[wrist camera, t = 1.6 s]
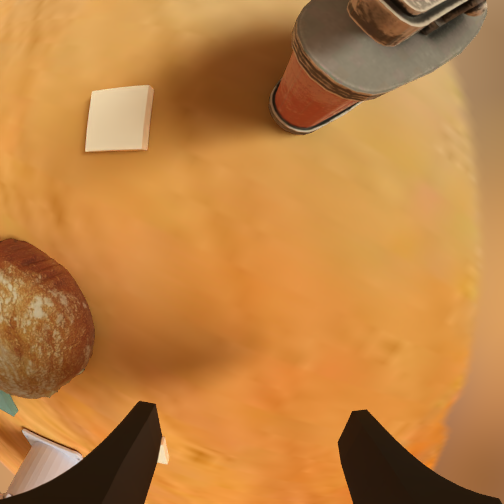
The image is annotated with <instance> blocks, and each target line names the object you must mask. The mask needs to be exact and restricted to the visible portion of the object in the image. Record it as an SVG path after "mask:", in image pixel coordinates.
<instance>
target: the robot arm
mask: <svg viewBox="0 0 504 504" xmlns="http://www.w3.org/2000/svg"><path fill="white" fill-rule="evenodd" d="M22 432H23V434H24V436H25V437H26V439H27V440H28V442H29V443H30V445H31V446H32V447H31V449H30V451H29V452H28V454H27V456H26V457H25V459H24V461H23V463H22V464H21V466H20V468H19V470H18V472H17V473H16V475H15V477H14V479H13V481H12V483H11V484H10V486H9V488H8V490H7V492H6V493H3V494H2V493H1V492H0V504H144V503H145V499H146V496H147V493H148V490H149V486H150V483H151V480H152V477H153V474H154V471H155V467H156V464H157V461H158V457H159V452H160V446H161V440H162V433H161V428H160V423H159V418H158V413H157V408H156V404H153V403H148V402H142V401H139V402H138V403H137V404H136V405H135V406H134V408H133V409H132V410H131V411H130V412H129V414H128V415H127V416H126V417H125V418H124V419H123V421H122V422H121V423H120V424H119V425H118V426H117V427H116V428H115V429H114V430H113V431H112V432H111V433H110V434H109V436H108V437H107V438H106V439H105V440H104V441H103V442H102V443H100V444H99V445H98V446H97V447H96V448H95V449H94V450H93V451H92V452H91V453H89V454H88V455H87V456H86V457H85V458H83V457H82V456H81V454H80V453H78V452H76V451H74V450H71V449H68V448H66V447H63V446H61V445H59V444H56V443H54V442H52V441H49V440H47V439H45V438H43V437H40V436H38V435H36V434H34V433H32V432H30V431H28V430H26V429H23V430H22ZM338 447H339V454H340V460H341V465H342V468H343V471H344V475H345V478H346V481H347V484H348V488H349V491H350V494H351V497H352V501H353V504H502V503H501V501H500V499H499V498H495V497H490V496H486V495H482V494H479V493H476V492H473V491H471V490H468V489H465V488H463V487H461V486H459V485H456V484H455V483H453V482H451V481H449V480H447V479H445V478H443V477H441V476H440V475H438V474H436V473H435V472H434V471H432V470H431V469H429V468H428V467H427V466H425V465H424V464H423V463H421V462H420V461H419V460H418V459H416V458H415V457H414V456H413V455H412V454H410V453H409V452H408V451H407V450H406V449H405V448H404V447H403V446H402V445H400V444H399V443H398V442H397V441H396V440H395V439H394V438H393V437H392V436H391V435H390V434H389V433H388V432H387V431H386V430H385V428H384V427H383V426H382V425H381V424H380V423H379V422H378V421H377V420H376V419H375V418H374V417H373V416H372V415H371V414H370V413H369V412H368V411H367V410H359V411H352V413H351V415H350V418H349V420H348V422H347V424H346V426H345V428H344V430H343V432H342V435H341V437H340V439H339V441H338Z"/></svg>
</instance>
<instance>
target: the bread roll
mask: <svg viewBox="0 0 504 504" xmlns="http://www.w3.org/2000/svg"><path fill="white" fill-rule="evenodd" d="M94 337H95V330H94V325H93V320H92V315H91V312H90V309H89V306H88V304H87V302H86V300H85V297H84V296H83V294H82V292H81V290H80V289H79V287H78V285H77V283H76V282H75V280H74V279H73V278H72V276H71V275H70V273H69V272H68V271H67V269H65V268H64V267H63V266H62V265H60V264H58V263H57V262H56V261H55V260H54V259H52V258H50V257H49V256H48V255H47V254H46V253H44V252H42V251H41V250H39V249H37V248H36V247H35V246H33V245H31V244H29V243H27V242H25V241H18V240H15V239H6V240H4V241H0V390H2V391H4V392H5V393H7V394H10V395H16V396H18V397H23V398H29V399H37V398H41V397H49V398H50V397H51V396H52V395H53V394H54V393H56V392H58V390H59V389H60V387H61V386H63V385H65V384H67V383H69V382H70V380H71V379H72V378H74V377H75V376H76V375H79V374H81V373H82V372H83V371H84V370H85V369H84V368H85V367H86V365H87V363H88V361H89V358H90V357H91V356H92V350H93V344H94Z"/></svg>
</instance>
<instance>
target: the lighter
mask: <svg viewBox="0 0 504 504" xmlns="http://www.w3.org/2000/svg"><path fill="white" fill-rule="evenodd" d="M486 15H487V3H486V0H311V1H310V2H309V3H308V4H307V5H306V6H305V7H303V9H302V11H301V13H300V14H299V16H298V18H297V20H296V23H295V26H294V28H293V31H292V49H293V53H292V55H291V58H290V60H289V63H288V65H287V67H286V70H285V72H284V75H283V77H282V78H281V79H280V80H279V82H278V83H277V84H276V85H275V86H274V88H273V90H272V92H271V95H270V98H269V110H270V113H271V116H272V117H273V119H274V120H275V121H276V123H277V124H278V125H279V126H280V127H282V128H283V129H284V130H286V131H288V132H291V133H293V134H299V135H305V134H308V133H312V132H313V131H315V130H317V129H319V128H321V127H323V126H324V125H326V124H328V123H330V122H332V121H334V120H336V119H337V118H339V117H341V116H343V115H345V114H346V113H348V112H349V111H350V110H352V109H353V108H355V107H356V106H358V105H359V104H360V103H362V102H363V101H366V100H371V99H375V98H377V97H379V96H381V95H383V94H385V93H387V92H390V91H392V90H394V89H396V88H398V87H400V86H402V85H405V84H407V83H409V82H411V81H414V80H416V79H418V78H420V77H423V76H425V75H427V74H429V73H431V72H433V71H434V70H436V69H437V68H439V67H440V66H442V65H443V64H445V63H446V62H448V61H450V60H451V59H453V58H454V57H456V56H457V55H459V54H460V53H461V52H462V51H463V50H464V49H465V48H466V47H467V45H468V44H469V43H470V42H471V41H472V40H473V39H474V37H475V36H476V35H477V34H478V32H479V30H480V28H481V26H482V24H483V21H484V19H485V17H486Z"/></svg>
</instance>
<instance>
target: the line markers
mask: <svg viewBox="0 0 504 504" xmlns="http://www.w3.org/2000/svg"><path fill="white" fill-rule="evenodd" d="M153 95H154V89H153V88H152V87H151V86H150V85H141V86H130V87H120V88H112V89H104V90H97V91H92V96H91V102H90V109H89V117H88V125H87V135H86V146H85V152H105V151H135V150H148V139H149V128H150V119H151V110H152V102H153ZM0 409H1V410H3V411H5V412H7V413H8V414H10V415H12V416H15V414H16V413H17V412H18V409H17V408H16V406H15V404H14V402H13V400H12V398H11V396H10V394H7V393H5V392H4V391H2V390H0ZM168 460H169V454H168V450H167V445H166V441H165V437H162V440H161V446H160V452H159V457H158V461H157V462H158V463H163V464H168Z"/></svg>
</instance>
